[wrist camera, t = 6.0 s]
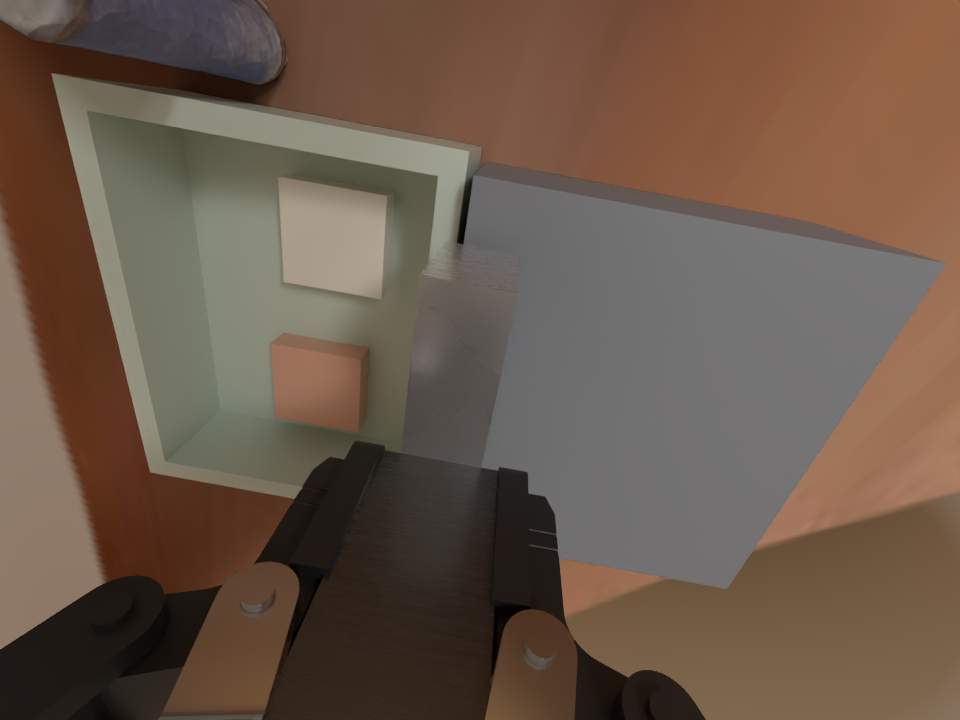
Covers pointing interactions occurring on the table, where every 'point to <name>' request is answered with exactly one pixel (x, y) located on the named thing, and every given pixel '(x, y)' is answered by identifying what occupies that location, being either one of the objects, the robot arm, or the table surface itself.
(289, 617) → the robot arm
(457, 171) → the box
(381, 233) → the tile cream
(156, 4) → the flask
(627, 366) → the grey slotted block
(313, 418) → the tile terracotta
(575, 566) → the table surface
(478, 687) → the scraper
